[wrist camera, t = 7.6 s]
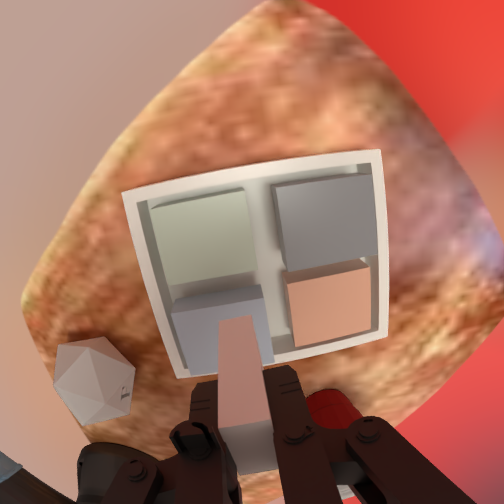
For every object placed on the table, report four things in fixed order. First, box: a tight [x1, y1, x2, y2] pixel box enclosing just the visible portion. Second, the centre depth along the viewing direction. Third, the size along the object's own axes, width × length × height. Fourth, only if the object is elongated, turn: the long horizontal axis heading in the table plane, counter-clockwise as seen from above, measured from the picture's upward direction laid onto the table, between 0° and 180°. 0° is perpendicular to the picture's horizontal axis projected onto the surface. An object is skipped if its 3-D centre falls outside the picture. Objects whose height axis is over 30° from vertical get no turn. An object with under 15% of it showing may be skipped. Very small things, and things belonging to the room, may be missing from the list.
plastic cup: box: [306, 389, 363, 500], centre depth 29 cm, size 11×11×12 cm
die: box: [53, 336, 136, 426], centre depth 26 cm, size 8×9×10 cm
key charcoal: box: [271, 172, 378, 272], centre depth 23 cm, size 7×6×3 cm
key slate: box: [171, 284, 275, 376], centre depth 25 cm, size 7×6×3 cm
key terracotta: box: [282, 258, 371, 347], centre depth 27 cm, size 7×6×3 cm
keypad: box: [121, 149, 389, 379], centre depth 26 cm, size 20×17×4 cm
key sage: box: [150, 188, 258, 286], centre depth 24 cm, size 7×6×3 cm
